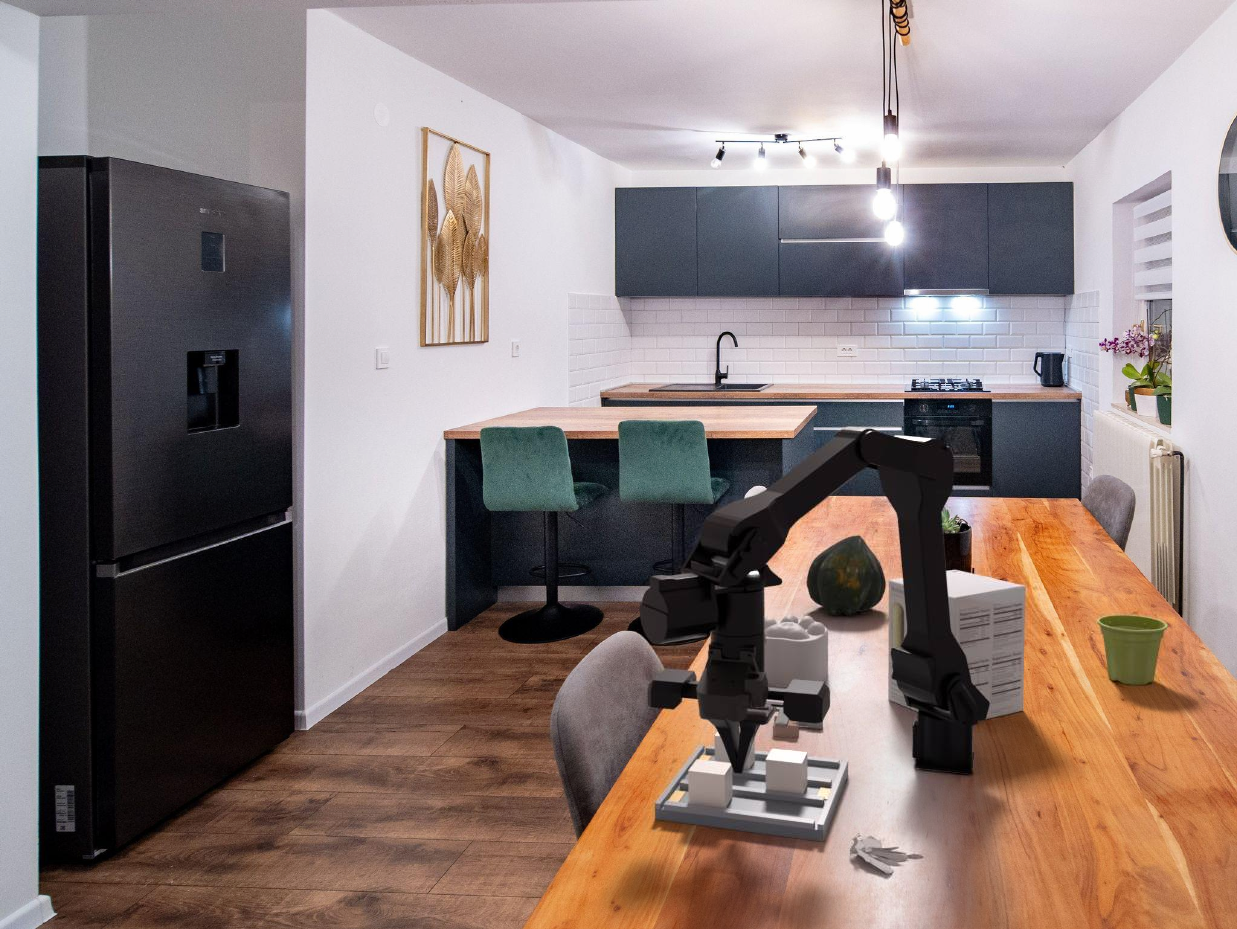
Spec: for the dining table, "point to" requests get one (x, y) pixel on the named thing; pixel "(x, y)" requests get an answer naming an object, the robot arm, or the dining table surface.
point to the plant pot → (1131, 647)
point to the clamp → (790, 725)
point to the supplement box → (976, 636)
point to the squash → (846, 578)
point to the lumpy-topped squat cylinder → (795, 650)
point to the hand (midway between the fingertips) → (738, 772)
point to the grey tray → (761, 800)
